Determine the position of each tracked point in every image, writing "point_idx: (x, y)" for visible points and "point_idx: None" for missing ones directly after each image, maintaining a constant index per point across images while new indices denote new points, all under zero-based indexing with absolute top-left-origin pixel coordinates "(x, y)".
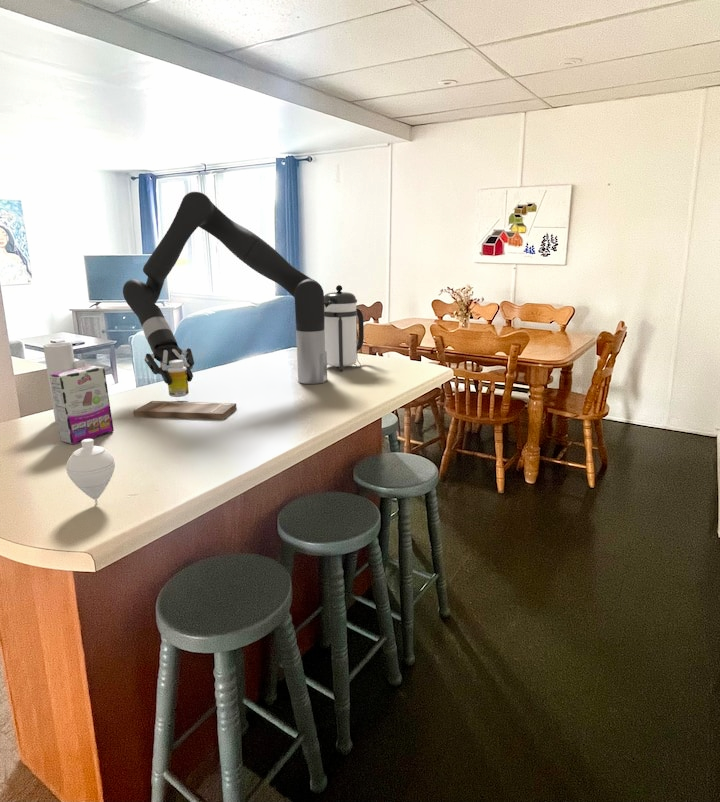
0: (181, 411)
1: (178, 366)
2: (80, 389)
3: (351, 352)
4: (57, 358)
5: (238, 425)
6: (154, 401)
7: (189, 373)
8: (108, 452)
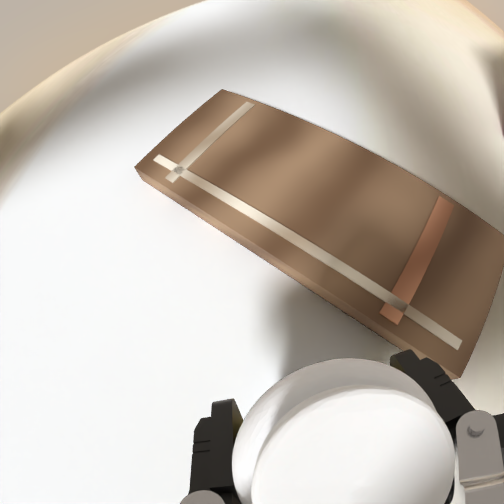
0: (344, 147)
1: (341, 387)
2: None
3: None
4: None
5: (210, 66)
6: (451, 360)
7: (220, 428)
8: None
